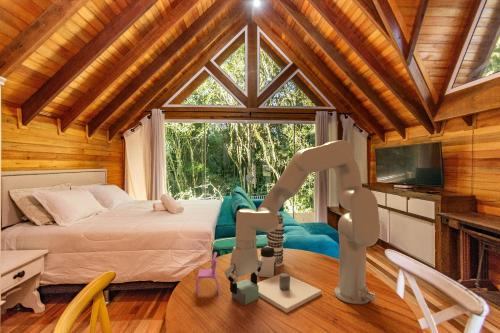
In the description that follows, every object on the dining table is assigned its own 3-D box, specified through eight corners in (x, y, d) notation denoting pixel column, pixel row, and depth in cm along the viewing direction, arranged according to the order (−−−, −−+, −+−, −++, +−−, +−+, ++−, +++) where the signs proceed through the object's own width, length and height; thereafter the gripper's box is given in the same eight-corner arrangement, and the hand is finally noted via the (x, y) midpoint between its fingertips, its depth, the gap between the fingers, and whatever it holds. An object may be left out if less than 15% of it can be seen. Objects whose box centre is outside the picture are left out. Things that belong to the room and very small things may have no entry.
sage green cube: (258, 299, 97) (258, 285, 96) (243, 305, 92) (243, 291, 92) (246, 291, 102) (246, 278, 102) (231, 297, 97) (232, 284, 97)
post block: (321, 294, 101) (321, 277, 101) (286, 312, 88) (286, 293, 88) (282, 276, 116) (283, 261, 116) (248, 289, 103) (248, 273, 103)
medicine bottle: (274, 278, 114) (274, 251, 114) (257, 276, 115) (258, 249, 115) (275, 271, 121) (276, 245, 121) (260, 270, 122) (261, 244, 122)
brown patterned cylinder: (273, 258, 138) (274, 210, 137) (287, 263, 131) (288, 213, 130) (261, 262, 132) (262, 213, 131) (275, 268, 125) (276, 216, 124)
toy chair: (197, 286, 105) (198, 249, 105) (219, 285, 106) (220, 249, 106) (195, 297, 97) (195, 257, 97) (219, 296, 98) (219, 256, 98)
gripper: (256, 236, 105) (254, 279, 105) (220, 244, 94) (218, 291, 94) (269, 241, 99) (267, 286, 100) (232, 250, 88) (230, 300, 88)
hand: (243, 288), depth 97 cm, fingers open, 9 cm apart
